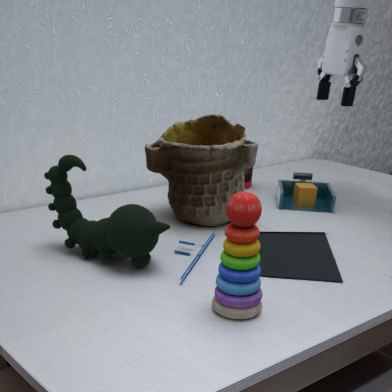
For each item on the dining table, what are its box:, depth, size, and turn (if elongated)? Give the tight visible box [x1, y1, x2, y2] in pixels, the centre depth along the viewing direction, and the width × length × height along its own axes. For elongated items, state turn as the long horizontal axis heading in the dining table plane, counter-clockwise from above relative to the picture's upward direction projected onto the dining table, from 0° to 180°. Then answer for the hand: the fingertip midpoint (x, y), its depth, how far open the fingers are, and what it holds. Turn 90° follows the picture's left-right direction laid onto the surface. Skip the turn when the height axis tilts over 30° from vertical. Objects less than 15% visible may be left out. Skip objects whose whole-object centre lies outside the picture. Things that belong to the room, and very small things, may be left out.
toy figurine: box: [43, 154, 171, 269], centre depth 90 cm, size 9×19×25 cm
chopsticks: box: [174, 230, 216, 286], centre depth 97 cm, size 1×25×5 cm
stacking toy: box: [211, 190, 263, 320], centre depth 75 cm, size 8×8×19 cm
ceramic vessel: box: [144, 113, 260, 227], centre depth 111 cm, size 23×24×25 cm
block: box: [293, 183, 318, 206], centre depth 126 cm, size 4×4×4 cm
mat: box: [257, 230, 344, 283], centre depth 105 cm, size 18×34×1 cm, turn 175°
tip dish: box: [275, 171, 337, 214], centre depth 128 cm, size 13×16×6 cm
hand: (334, 102), depth 122 cm, fingers open, 9 cm apart
